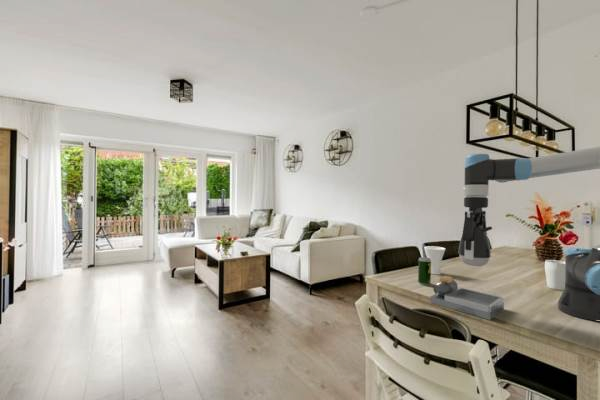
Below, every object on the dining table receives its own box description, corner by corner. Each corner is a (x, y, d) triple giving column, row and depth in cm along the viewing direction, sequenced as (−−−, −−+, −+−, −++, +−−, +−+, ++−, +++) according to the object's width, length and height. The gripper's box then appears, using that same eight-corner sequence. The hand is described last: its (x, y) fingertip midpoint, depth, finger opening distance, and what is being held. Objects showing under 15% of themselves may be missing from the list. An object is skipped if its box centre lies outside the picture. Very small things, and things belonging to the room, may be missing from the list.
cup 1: (449, 275, 150) (450, 249, 150) (430, 276, 148) (431, 249, 148) (437, 270, 160) (437, 245, 160) (419, 270, 159) (420, 246, 159)
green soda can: (417, 284, 134) (417, 258, 134) (418, 281, 138) (419, 256, 138) (430, 286, 131) (430, 260, 131) (431, 283, 136) (431, 257, 136)
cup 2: (542, 283, 137) (542, 258, 137) (567, 287, 132) (568, 261, 132) (546, 289, 129) (547, 262, 129) (573, 292, 125) (574, 265, 124)
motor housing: (503, 309, 105) (504, 284, 105) (490, 320, 96) (490, 293, 96) (447, 294, 121) (447, 272, 121) (430, 302, 111) (430, 279, 111)
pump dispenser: (490, 269, 99) (491, 225, 99) (456, 264, 105) (456, 223, 105) (492, 264, 107) (493, 223, 107) (460, 260, 113) (461, 221, 113)
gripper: (475, 196, 116) (474, 251, 116) (452, 196, 101) (450, 259, 102) (497, 197, 110) (496, 254, 111) (476, 196, 95) (474, 263, 96)
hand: (474, 257), depth 106 cm, fingers closed on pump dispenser, 10 cm apart
